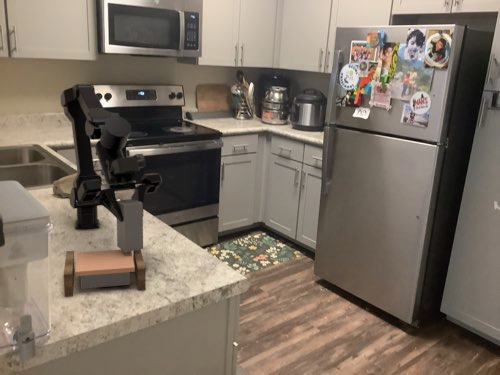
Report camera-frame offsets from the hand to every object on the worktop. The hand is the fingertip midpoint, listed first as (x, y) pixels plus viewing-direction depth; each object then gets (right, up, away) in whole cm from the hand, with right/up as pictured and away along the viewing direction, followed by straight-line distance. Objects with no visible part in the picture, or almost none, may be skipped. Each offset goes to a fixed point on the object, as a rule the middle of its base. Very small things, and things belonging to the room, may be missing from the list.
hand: (132, 219), depth 104 cm
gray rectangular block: (-1, -7, +3) cm, 7 cm away
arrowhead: (-14, 0, +48) cm, 50 cm away
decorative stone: (-35, +4, +58) cm, 68 cm away
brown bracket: (-5, -14, -2) cm, 15 cm away
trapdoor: (-6, -13, -1) cm, 14 cm away
